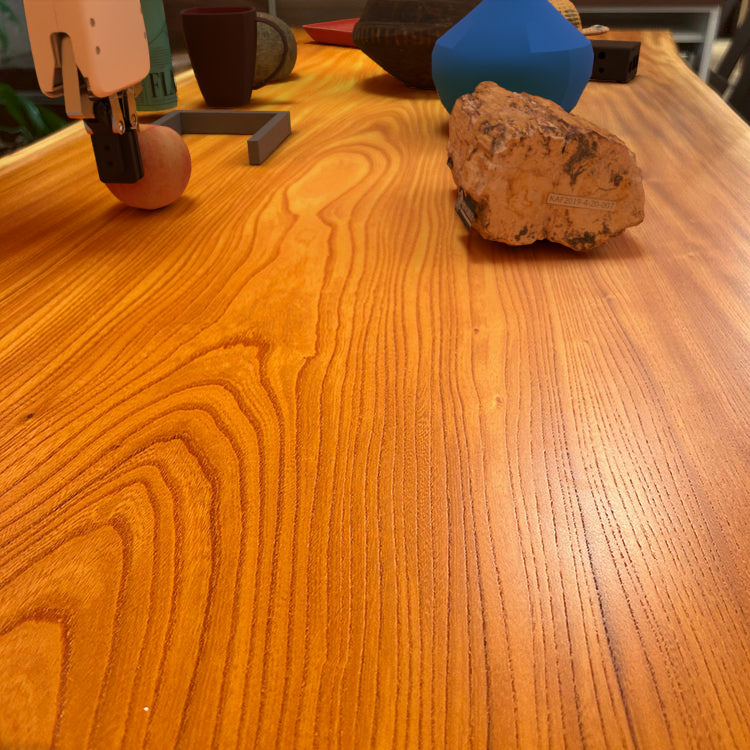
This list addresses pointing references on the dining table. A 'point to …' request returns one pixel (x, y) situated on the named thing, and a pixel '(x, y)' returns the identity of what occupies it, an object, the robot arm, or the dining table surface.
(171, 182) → the apple
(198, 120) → the bay
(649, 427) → the dining table surface
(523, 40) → the vase
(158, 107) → the beverage bottle
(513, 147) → the petrified wood
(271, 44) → the grey green rounded stone
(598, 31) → the decorative figurine
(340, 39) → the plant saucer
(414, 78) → the ceramic pot
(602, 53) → the electronic device
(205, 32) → the mug
